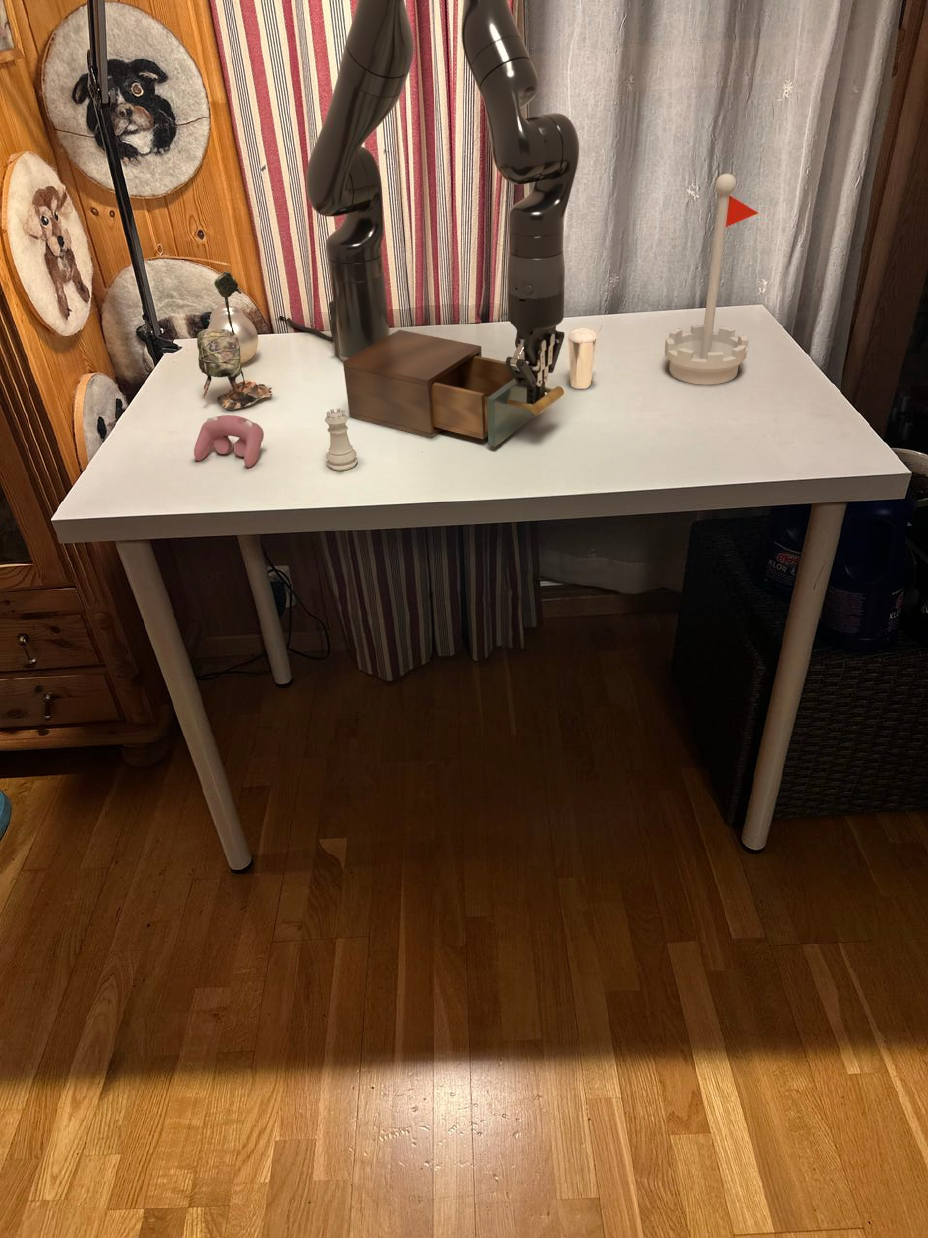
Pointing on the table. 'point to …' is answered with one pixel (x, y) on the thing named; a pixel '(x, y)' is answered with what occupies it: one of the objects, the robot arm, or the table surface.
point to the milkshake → (581, 356)
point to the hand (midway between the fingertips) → (535, 407)
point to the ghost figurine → (236, 329)
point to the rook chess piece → (339, 442)
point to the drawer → (485, 400)
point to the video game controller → (218, 434)
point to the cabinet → (402, 379)
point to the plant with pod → (227, 356)
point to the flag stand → (711, 312)
